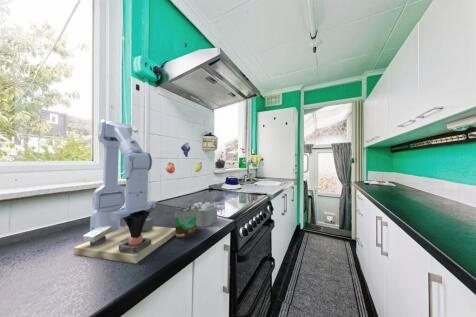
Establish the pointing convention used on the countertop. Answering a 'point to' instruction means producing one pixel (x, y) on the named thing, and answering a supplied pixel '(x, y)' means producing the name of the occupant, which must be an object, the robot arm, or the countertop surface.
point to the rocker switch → (97, 233)
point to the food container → (186, 221)
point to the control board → (125, 244)
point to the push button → (135, 241)
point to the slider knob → (148, 224)
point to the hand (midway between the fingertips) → (135, 236)
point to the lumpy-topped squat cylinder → (206, 214)
